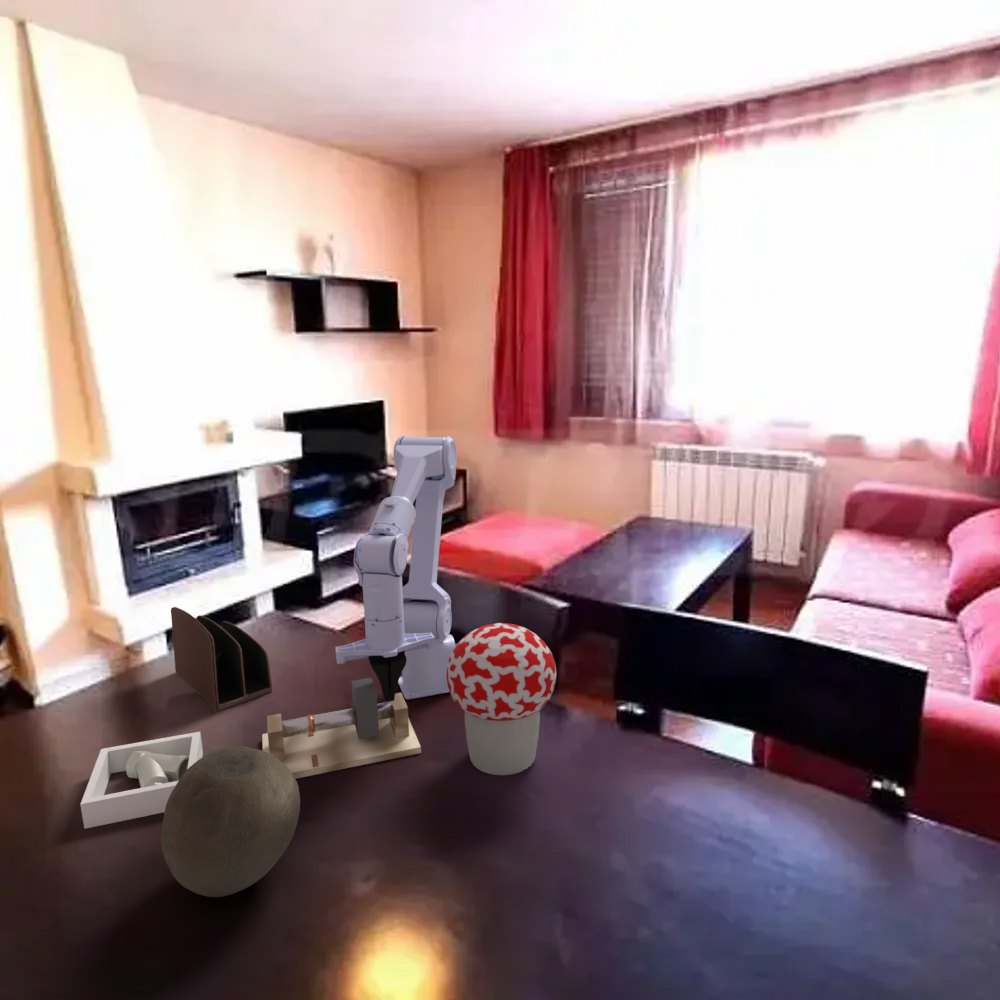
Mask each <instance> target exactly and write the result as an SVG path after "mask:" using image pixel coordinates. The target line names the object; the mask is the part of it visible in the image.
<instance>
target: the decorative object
mask: <svg viewBox="0 0 1000 1000" xmlns="http://www.w3.org/2000/svg"><path fill="white" fill-rule="evenodd" d="M455 645H456V646H455V648H454V650H453V651H452V653H451V655H450V658H449V661H448V664H447V675H446V678H447V685H448V688H449V691H450V692H449V693H450V695H451V698H452V700H453V701H454V703H456V704H457V706H458V707H459V708H460V709H461V710H462V711H464V727H465V734H466V735H465V736H466V744H467V749H468V754H469V759H470V762H471V763H472V765H473V766H474V767H475V768H476V769H477V770H479V771H481V772H483V773H486V774H489V775H493V776H510V775H516V774H519V773H522V772H524V771H525V769H526V770H527V769H529V768H530V767H531V766H532V765H533V764H534V762H535V760H536V754H537V750H538V749H537V748H538V741H539V731H540V719H541V716H540V714H541V713H540V710H542V708H543V707H544V706H545V705H546V704H547V703H548V702H549V700H551V697H552V695H553V692H554V690H555V688H556V687H555V686H556V681H557V667H556V661H555V659H554V656H553V653H552V651H551V650H550V648H549V646H547V643H546V642H545V641H544V640H543V639H542V638H540V636H538V634H536V633H535V632H533V631H531V630H530V629H528V628H526V627H524V626H521V625H517V624H512V623H509V622H508V623H506V622H497V623H495V622H494V623H490V624H486V625H482V626H480V627H478V628H475V629H473V630H472V631H470V632H469V633H466V634H465V635H464V637H462V639H461V640H459V641H458V643H456V644H455ZM532 763H533V764H532ZM528 767H529V768H528ZM523 770H524V771H523Z"/></svg>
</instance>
